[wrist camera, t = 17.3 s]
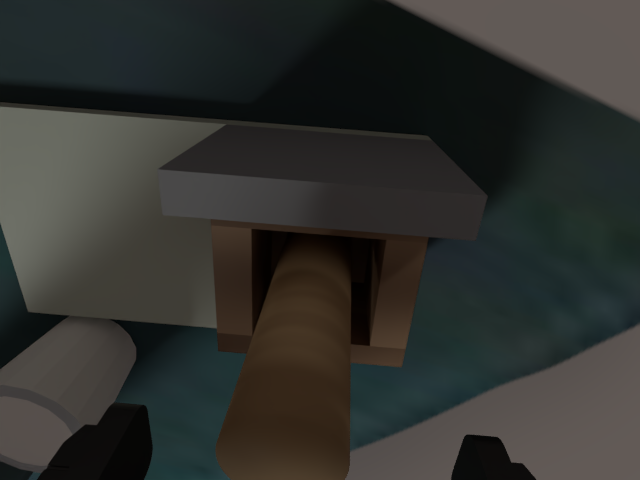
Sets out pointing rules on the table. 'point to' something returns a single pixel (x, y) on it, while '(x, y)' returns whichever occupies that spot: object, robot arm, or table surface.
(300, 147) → the wall
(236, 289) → the wooden open box
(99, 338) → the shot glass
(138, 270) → the board
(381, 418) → the table surface
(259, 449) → the dowel
